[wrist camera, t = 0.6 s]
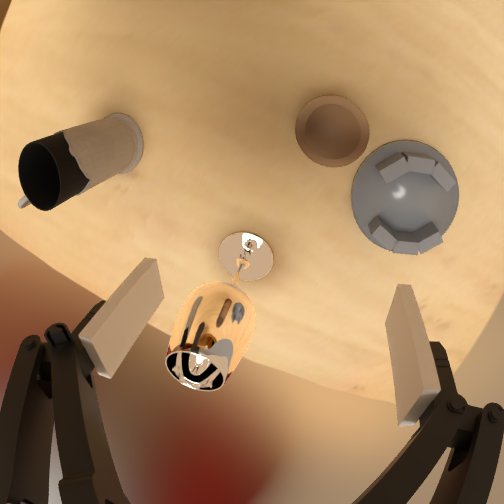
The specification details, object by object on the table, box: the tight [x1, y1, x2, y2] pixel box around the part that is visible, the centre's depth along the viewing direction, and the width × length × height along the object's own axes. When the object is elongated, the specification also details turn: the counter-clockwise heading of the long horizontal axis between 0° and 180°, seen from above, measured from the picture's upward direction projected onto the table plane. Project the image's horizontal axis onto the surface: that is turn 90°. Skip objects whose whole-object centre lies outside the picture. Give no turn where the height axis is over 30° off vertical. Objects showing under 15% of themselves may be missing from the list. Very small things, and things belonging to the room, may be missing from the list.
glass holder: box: [18, 113, 144, 211], centre depth 32 cm, size 9×14×15 cm, turn 117°
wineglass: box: [165, 232, 273, 391], centre depth 33 cm, size 8×8×20 cm
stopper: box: [295, 95, 369, 167], centre depth 27 cm, size 6×6×10 cm
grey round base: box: [351, 140, 459, 255], centre depth 31 cm, size 14×14×4 cm
